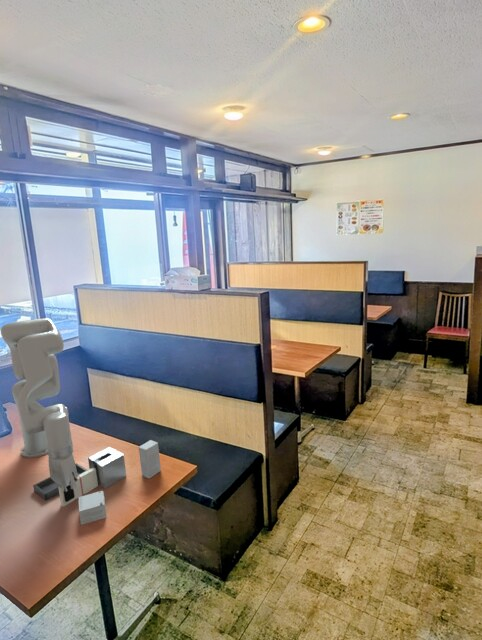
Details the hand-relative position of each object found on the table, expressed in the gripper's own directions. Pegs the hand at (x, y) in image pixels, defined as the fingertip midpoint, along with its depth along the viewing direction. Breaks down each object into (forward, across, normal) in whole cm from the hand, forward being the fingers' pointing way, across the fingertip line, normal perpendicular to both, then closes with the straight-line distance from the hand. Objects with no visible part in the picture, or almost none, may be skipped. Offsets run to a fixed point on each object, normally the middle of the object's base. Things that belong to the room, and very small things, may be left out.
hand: (68, 498), depth 133 cm
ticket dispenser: (+1, 0, +16) cm, 16 cm away
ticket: (+1, 0, +4) cm, 4 cm away
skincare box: (+2, +11, +27) cm, 29 cm away
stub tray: (+1, -11, +4) cm, 12 cm away
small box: (+2, +12, +2) cm, 12 cm away
